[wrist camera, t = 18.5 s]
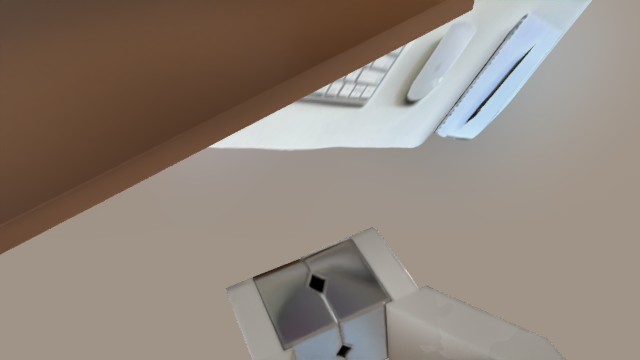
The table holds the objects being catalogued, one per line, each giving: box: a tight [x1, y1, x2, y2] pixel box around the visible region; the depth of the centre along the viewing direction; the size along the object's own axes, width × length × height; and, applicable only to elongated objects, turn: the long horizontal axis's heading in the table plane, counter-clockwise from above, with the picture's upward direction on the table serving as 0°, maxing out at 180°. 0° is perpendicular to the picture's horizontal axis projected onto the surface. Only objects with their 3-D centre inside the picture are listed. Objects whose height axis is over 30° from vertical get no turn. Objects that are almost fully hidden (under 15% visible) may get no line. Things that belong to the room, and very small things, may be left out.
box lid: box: [0, 0, 474, 254], centre depth 17 cm, size 13×17×1 cm
